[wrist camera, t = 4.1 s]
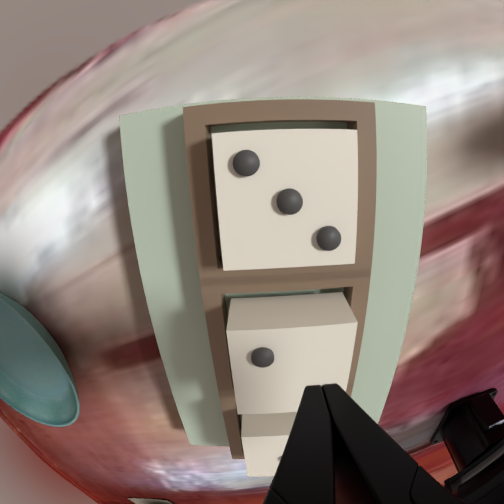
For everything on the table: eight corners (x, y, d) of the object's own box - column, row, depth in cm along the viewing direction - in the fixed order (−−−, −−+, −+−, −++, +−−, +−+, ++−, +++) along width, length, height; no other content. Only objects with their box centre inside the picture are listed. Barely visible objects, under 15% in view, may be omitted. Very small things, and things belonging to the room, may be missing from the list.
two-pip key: (333, 373, 15) (343, 409, 13) (239, 379, 15) (237, 417, 13) (342, 291, 13) (358, 324, 11) (230, 298, 14) (225, 333, 11)
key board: (368, 414, 21) (378, 446, 18) (194, 425, 21) (187, 458, 18) (407, 108, 13) (441, 104, 10) (135, 118, 14) (105, 114, 10)
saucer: (6, 391, 23) (-5, 406, 20) (-48, 269, 17) (-66, 281, 15) (113, 421, 22) (104, 443, 20) (56, 272, 17) (34, 290, 15)
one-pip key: (321, 442, 18) (326, 473, 15) (248, 447, 18) (247, 479, 15) (329, 397, 16) (338, 432, 13) (242, 403, 16) (241, 439, 14)
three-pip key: (338, 242, 14) (356, 265, 11) (228, 247, 14) (223, 272, 11) (338, 131, 12) (359, 129, 9) (219, 134, 12) (210, 133, 10)
